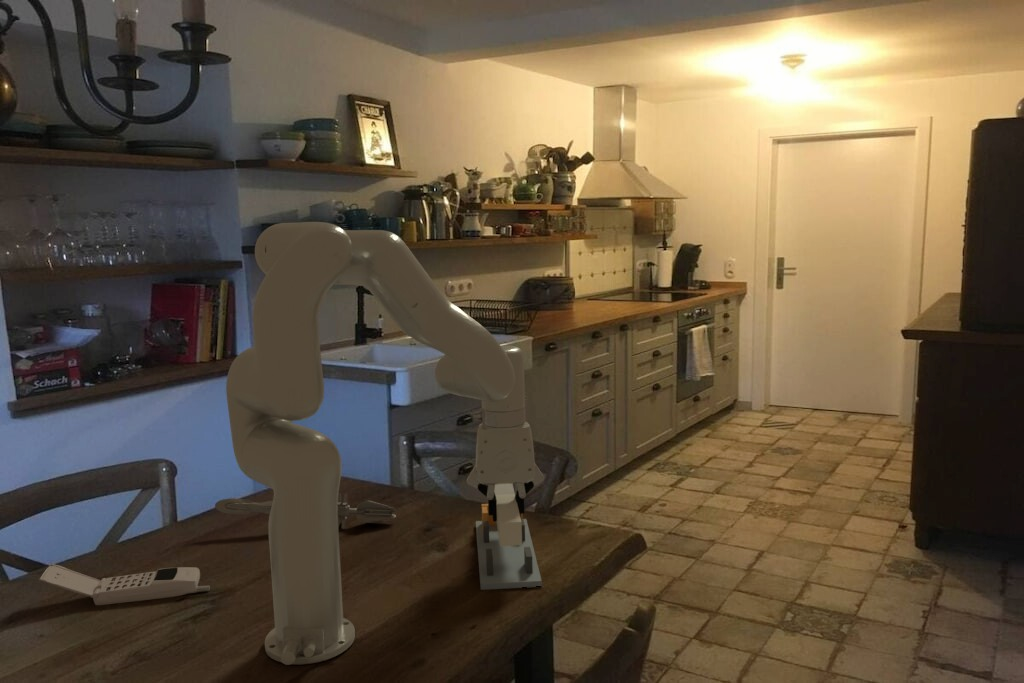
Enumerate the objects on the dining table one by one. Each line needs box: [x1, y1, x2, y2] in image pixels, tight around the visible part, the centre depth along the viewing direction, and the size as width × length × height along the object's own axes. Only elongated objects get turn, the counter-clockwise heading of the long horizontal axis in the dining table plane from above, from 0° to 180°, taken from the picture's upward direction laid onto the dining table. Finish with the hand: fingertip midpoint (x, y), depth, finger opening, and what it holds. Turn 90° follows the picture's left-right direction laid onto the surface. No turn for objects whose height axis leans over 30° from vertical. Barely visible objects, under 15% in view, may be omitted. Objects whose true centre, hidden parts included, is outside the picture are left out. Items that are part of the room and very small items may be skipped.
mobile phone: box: [38, 563, 211, 606], centre depth 133 cm, size 6×6×25 cm
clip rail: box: [475, 503, 543, 591], centre depth 146 cm, size 28×10×5 cm, turn 4°
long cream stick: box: [494, 484, 522, 546], centre depth 144 cm, size 22×4×4 cm, turn 4°
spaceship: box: [214, 492, 397, 529], centre depth 160 cm, size 8×35×8 cm
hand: (506, 517), depth 144 cm, fingers closed on long cream stick, 3 cm apart
